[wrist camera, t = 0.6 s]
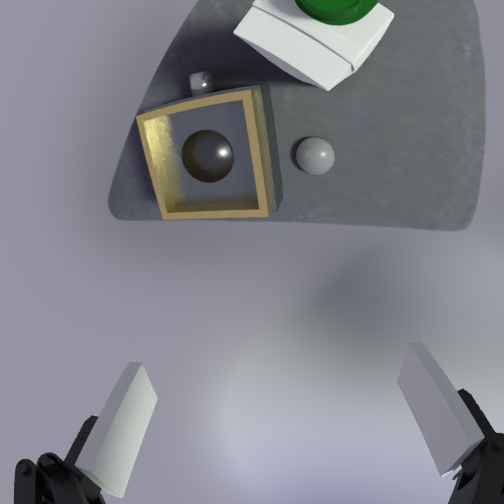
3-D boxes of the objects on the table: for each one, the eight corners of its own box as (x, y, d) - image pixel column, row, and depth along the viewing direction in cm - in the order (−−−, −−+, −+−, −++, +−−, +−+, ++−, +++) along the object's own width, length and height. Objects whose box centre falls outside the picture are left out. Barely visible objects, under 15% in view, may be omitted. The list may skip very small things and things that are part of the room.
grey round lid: (295, 137, 34) (294, 138, 33) (332, 136, 32) (333, 137, 31) (298, 172, 36) (297, 174, 35) (334, 171, 35) (335, 174, 34)
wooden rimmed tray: (159, 87, 33) (127, 91, 27) (265, 63, 28) (249, 57, 22) (185, 201, 43) (161, 223, 37) (283, 196, 39) (273, 220, 33)
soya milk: (368, 49, 24) (416, 8, 8) (327, 98, 29) (330, 107, 13) (310, 10, 22) (286, -65, 7) (270, 59, 28) (205, 32, 12)
